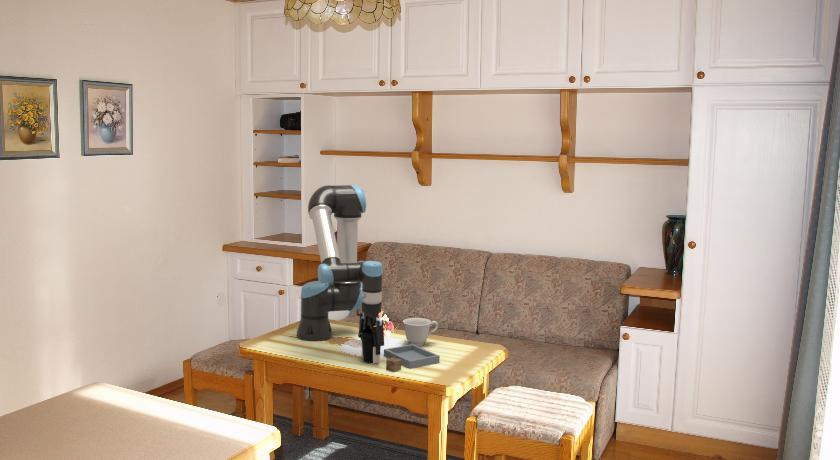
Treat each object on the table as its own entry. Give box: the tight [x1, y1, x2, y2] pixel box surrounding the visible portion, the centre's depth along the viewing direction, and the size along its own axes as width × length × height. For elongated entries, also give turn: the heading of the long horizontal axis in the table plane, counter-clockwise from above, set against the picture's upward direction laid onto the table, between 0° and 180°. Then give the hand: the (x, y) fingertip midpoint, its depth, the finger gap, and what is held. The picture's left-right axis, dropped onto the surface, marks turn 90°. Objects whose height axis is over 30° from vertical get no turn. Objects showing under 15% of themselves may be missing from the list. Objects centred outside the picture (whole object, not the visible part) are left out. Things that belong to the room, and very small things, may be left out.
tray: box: [383, 344, 440, 369], centre depth 300 cm, size 18×14×3 cm
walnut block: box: [385, 358, 402, 373], centre depth 287 cm, size 4×4×4 cm
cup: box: [361, 329, 375, 365], centre depth 296 cm, size 8×8×12 cm
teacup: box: [402, 317, 439, 347], centre depth 321 cm, size 12×15×10 cm
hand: (370, 359), depth 297 cm, fingers closed on cup, 8 cm apart
